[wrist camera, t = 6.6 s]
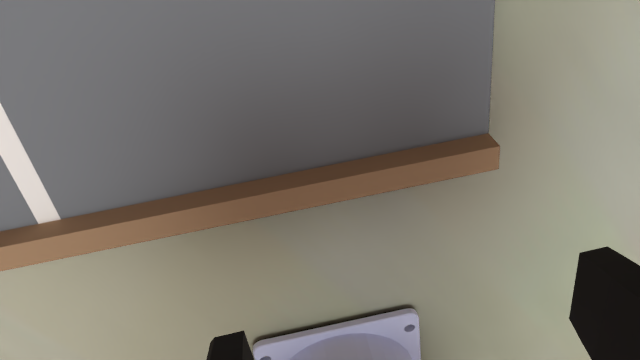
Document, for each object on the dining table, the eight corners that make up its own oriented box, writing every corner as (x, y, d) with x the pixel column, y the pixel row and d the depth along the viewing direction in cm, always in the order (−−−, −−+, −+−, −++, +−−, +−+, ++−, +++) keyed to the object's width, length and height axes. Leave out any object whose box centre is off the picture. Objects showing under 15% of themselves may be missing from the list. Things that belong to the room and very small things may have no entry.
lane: (496, -227, 15) (567, -242, 12) (481, 147, 21) (523, 199, 18) (-607, -48, 13) (-852, -13, 10) (-249, 295, 20) (-332, 378, 17)
